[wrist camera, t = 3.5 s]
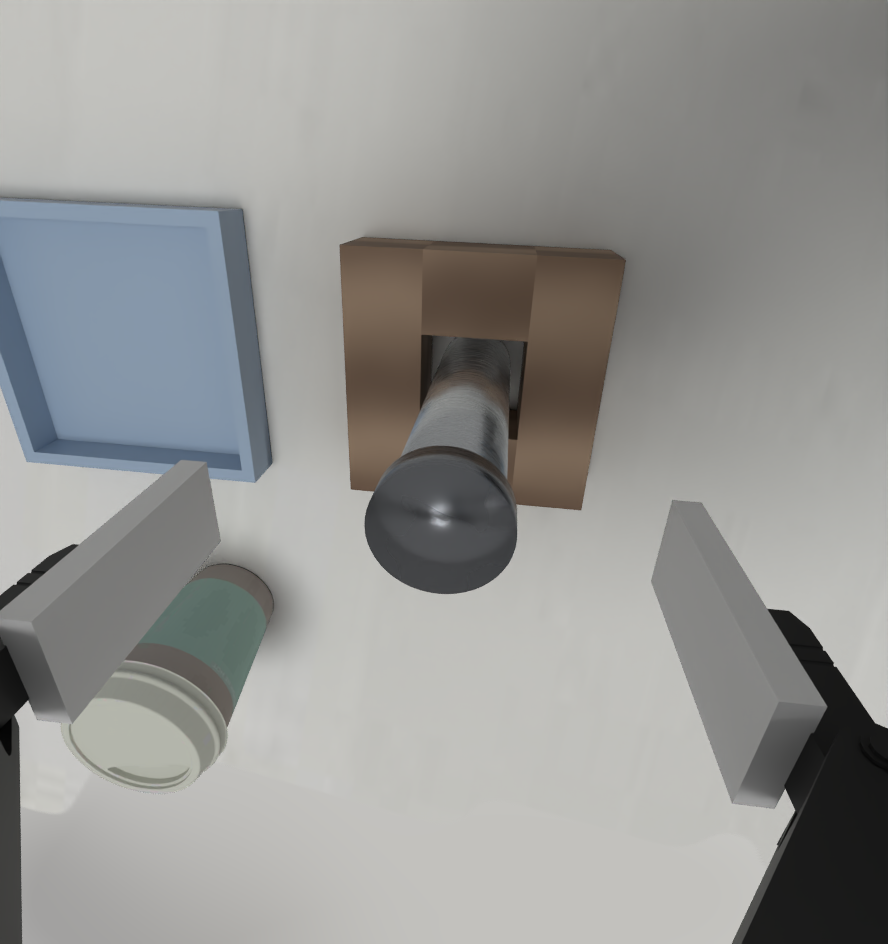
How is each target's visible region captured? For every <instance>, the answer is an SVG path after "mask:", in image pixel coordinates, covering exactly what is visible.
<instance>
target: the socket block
mask: <svg viewBox="0 0 888 944" xmlns="http://www.w3.org/2000/svg"><path fill="white" fill-rule="evenodd" d="M625 262H626V260H625V259H624V258H622V257H621V256H619V255H618V254H616V253H615V252H613V251H612V250H599V249H580V248H561V247H541V246H522V245H502V244H483V243H464V242H444V241H425V240H405V239H386V238H367V237H362V238H359V239H356V240H353V241H350V242H347V243H344V244H341V245H340V265H341V287H342V308H343V330H344V352H345V373H346V395H347V417H348V438H349V460H350V482H351V489H352V490H363V491H375V489H376V487H377V485H378V482H379V480H380V479H381V477H382V475H383V473H384V472H385V471H386V470H387V468H388V467H389V466H390V465H391V464H392V463H393V462H394V461H396V460H397V459H398V458H400V457H401V455H402V452H403V450H404V448H405V445H406V443H407V441H408V438H409V436H410V434H411V431H412V429H413V426H414V424H415V422H416V419H417V417H418V415H419V412H420V410H421V407H422V405H423V403H424V400H425V398H426V396H427V393H428V391H429V389H430V386H431V366H432V335H434V336H449V337H464V338H480V339H495V340H510V341H524V349H523V359H522V368H521V378H520V387H519V397H518V406H517V411H516V410H509V430H508V468H507V480H508V482H509V484H510V486H511V488H512V490H513V492H514V496H515V499H516V504H518V505H529V506H540V507H551V508H562V509H573V510H581V508H582V503H583V497H584V492H585V486H586V480H587V475H588V469H589V464H590V458H591V452H592V447H593V441H594V436H595V430H596V424H597V419H598V413H599V408H600V402H601V397H602V391H603V385H604V380H605V374H606V369H607V363H608V357H609V352H610V346H611V341H612V335H613V329H614V324H615V318H616V313H617V307H618V302H619V296H620V290H621V285H622V279H623V274H624V268H625Z"/></svg>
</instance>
